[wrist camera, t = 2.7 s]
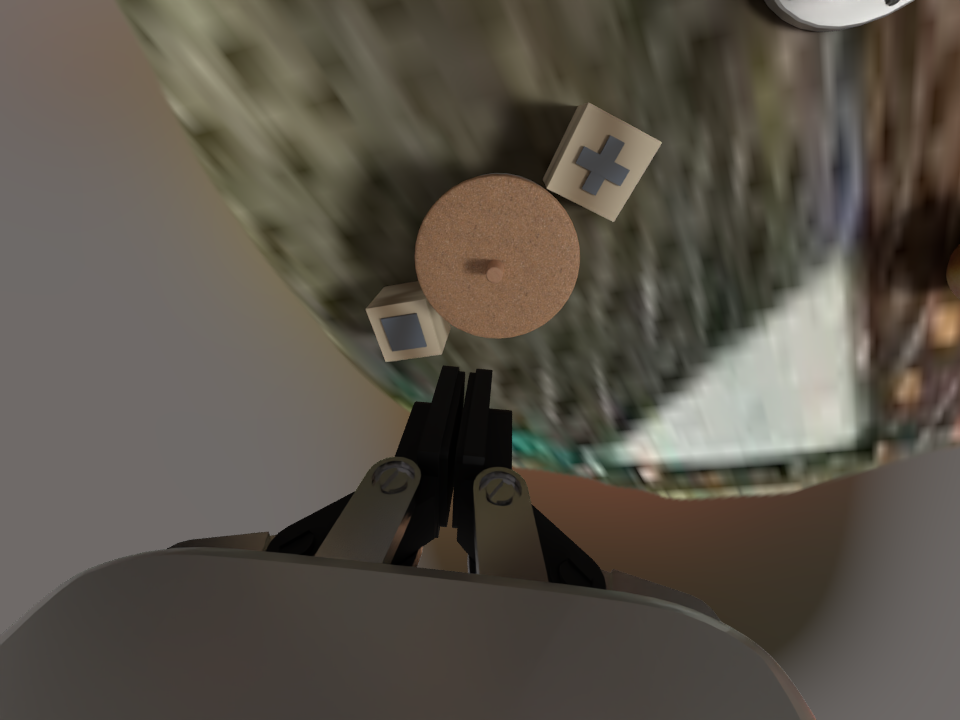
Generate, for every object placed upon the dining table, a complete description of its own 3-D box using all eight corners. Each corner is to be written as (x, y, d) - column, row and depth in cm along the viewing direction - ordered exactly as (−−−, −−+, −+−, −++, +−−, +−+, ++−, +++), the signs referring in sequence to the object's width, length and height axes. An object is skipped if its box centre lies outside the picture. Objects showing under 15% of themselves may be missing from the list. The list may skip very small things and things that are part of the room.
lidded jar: (490, 320, 35) (482, 377, 27) (409, 226, 31) (371, 260, 23) (592, 247, 31) (618, 289, 23) (513, 129, 27) (510, 130, 19)
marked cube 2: (639, 139, 27) (663, 142, 22) (600, 208, 29) (614, 222, 25) (577, 106, 26) (589, 102, 22) (542, 179, 29) (546, 188, 24)
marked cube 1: (437, 277, 34) (424, 300, 29) (450, 327, 36) (441, 355, 32) (384, 286, 34) (364, 310, 30) (401, 334, 37) (385, 363, 32)
